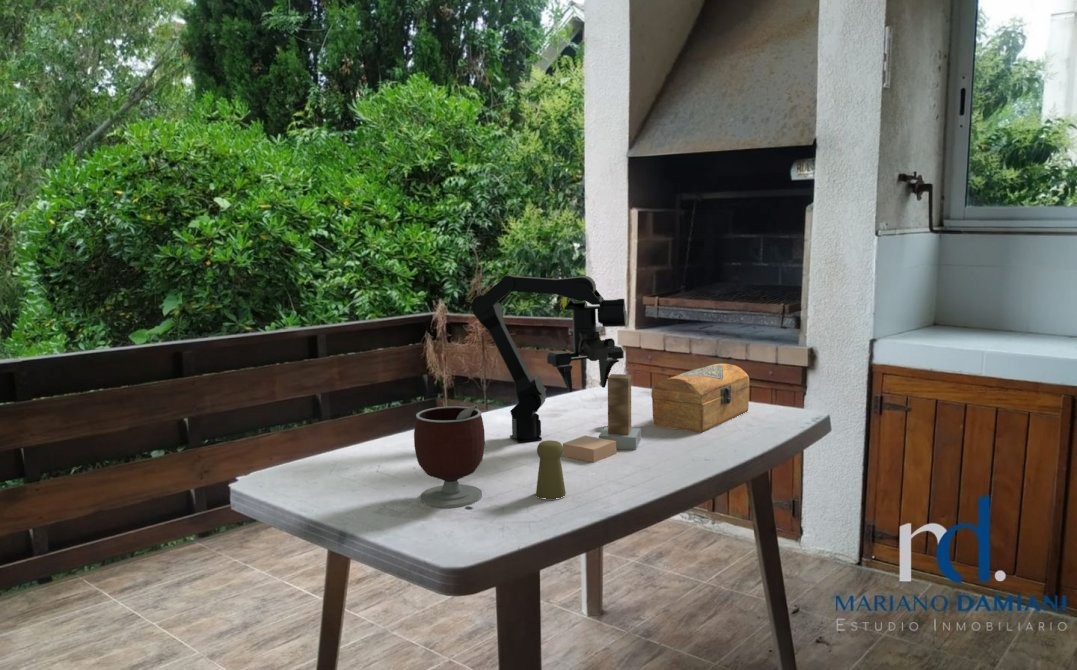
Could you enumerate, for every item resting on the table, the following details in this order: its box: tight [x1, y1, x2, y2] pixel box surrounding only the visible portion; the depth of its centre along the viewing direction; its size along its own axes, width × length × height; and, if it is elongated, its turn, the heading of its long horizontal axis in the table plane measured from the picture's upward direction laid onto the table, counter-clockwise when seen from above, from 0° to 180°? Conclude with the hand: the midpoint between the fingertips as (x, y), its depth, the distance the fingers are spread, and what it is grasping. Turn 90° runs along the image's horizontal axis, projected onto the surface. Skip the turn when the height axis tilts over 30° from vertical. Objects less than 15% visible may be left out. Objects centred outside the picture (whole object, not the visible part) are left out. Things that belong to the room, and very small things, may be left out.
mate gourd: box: [413, 404, 486, 509], centre depth 155 cm, size 16×14×20 cm
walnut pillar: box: [607, 373, 632, 435], centre depth 192 cm, size 5×5×14 cm
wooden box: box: [651, 363, 750, 434], centre depth 217 cm, size 30×16×14 cm, turn 141°
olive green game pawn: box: [535, 439, 567, 499], centre depth 156 cm, size 6×6×11 cm
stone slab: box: [598, 426, 642, 451], centre depth 193 cm, size 9×9×3 cm
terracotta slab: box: [562, 435, 617, 463], centre depth 185 cm, size 9×9×3 cm
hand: (586, 389), depth 195 cm, fingers open, 9 cm apart
